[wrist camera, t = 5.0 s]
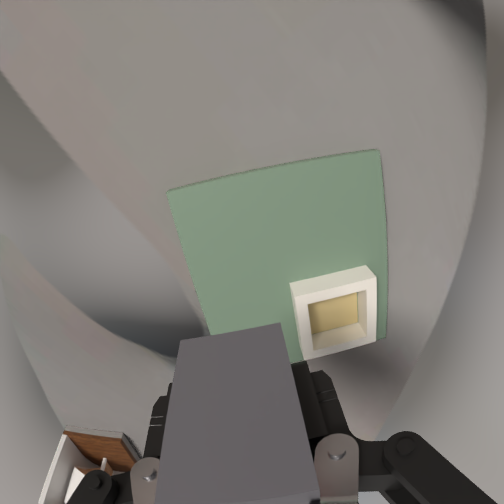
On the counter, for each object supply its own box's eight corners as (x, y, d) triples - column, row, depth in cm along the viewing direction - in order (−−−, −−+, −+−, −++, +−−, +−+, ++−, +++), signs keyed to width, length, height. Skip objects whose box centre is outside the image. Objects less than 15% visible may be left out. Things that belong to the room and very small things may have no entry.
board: (168, 189, 25) (159, 199, 22) (373, 149, 25) (393, 153, 21) (225, 368, 33) (226, 391, 29) (381, 331, 33) (394, 351, 29)
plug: (180, 340, 12) (154, 503, 5) (280, 322, 12) (319, 489, 5) (213, 412, 14) (211, 543, 7) (294, 399, 14) (322, 530, 7)
